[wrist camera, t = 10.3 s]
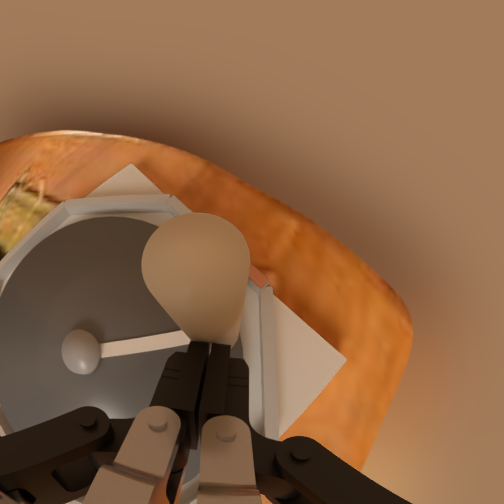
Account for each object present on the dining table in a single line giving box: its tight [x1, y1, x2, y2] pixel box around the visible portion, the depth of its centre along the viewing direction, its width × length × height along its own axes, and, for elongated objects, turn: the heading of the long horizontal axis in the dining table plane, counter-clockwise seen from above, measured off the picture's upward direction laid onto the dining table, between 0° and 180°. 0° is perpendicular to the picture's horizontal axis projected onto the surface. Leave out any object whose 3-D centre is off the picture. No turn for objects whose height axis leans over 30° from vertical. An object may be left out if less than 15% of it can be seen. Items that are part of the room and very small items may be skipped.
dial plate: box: [0, 163, 347, 504], centre depth 14 cm, size 22×22×3 cm
